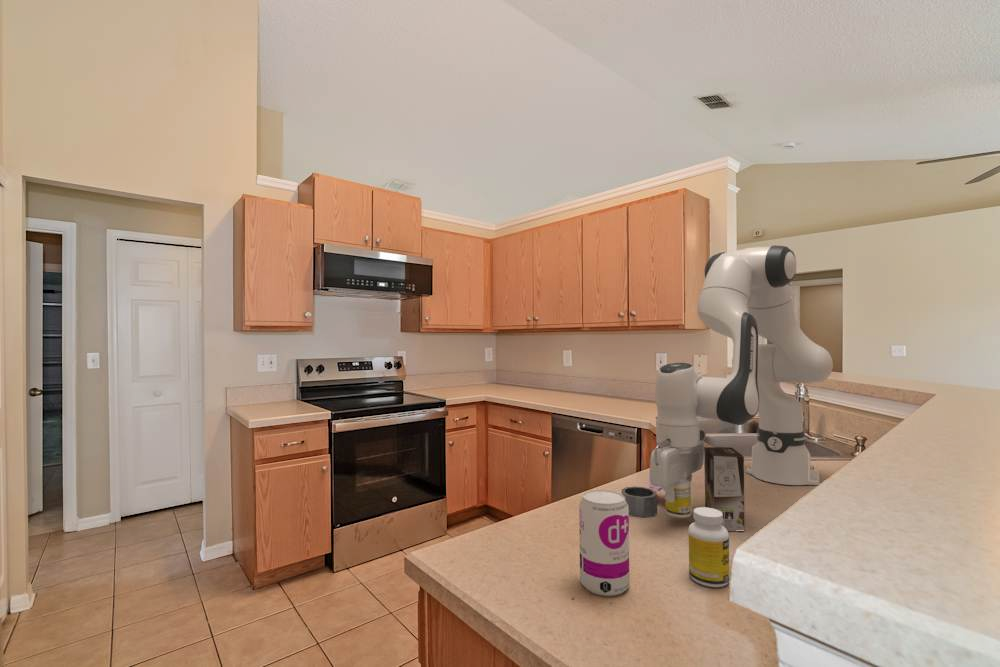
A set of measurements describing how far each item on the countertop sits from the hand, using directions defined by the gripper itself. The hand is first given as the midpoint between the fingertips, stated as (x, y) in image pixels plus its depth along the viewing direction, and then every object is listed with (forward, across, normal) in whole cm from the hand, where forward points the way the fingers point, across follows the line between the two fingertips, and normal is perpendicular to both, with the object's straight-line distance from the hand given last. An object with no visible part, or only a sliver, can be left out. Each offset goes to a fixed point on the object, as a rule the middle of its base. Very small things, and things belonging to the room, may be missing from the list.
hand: (678, 497), depth 107 cm
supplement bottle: (+4, 0, 0) cm, 4 cm away
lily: (+6, +11, +10) cm, 16 cm away
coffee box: (+6, +7, -8) cm, 12 cm away
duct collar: (+6, +1, +10) cm, 12 cm away
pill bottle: (+6, -20, -14) cm, 26 cm away
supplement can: (+6, -34, -2) cm, 35 cm away
